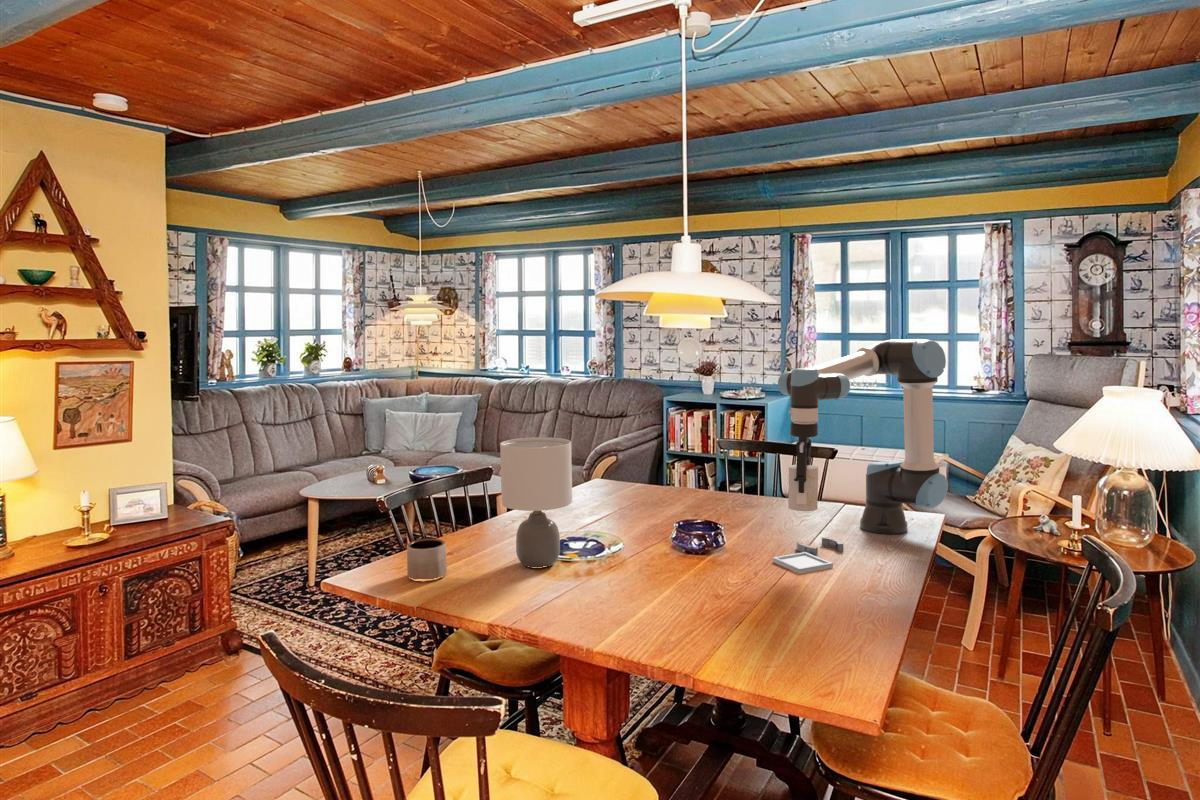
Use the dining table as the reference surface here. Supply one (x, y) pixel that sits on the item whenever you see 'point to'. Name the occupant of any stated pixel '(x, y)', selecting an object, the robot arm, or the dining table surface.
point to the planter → (426, 559)
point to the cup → (811, 489)
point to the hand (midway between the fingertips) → (803, 500)
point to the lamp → (536, 493)
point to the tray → (802, 562)
